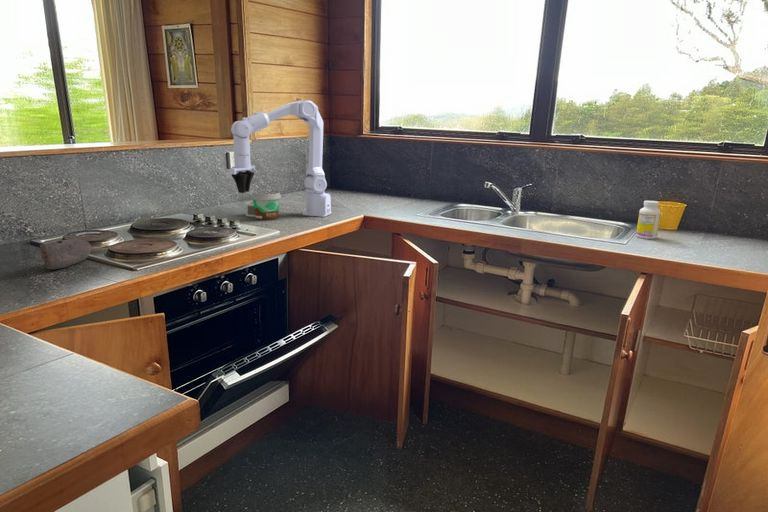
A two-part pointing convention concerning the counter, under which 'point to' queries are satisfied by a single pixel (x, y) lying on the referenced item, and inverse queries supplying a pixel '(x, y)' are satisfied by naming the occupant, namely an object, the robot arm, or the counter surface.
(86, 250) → the perforated stone tool
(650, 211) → the supplement bottle
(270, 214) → the food container
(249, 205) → the letter cube
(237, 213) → the counter surface
